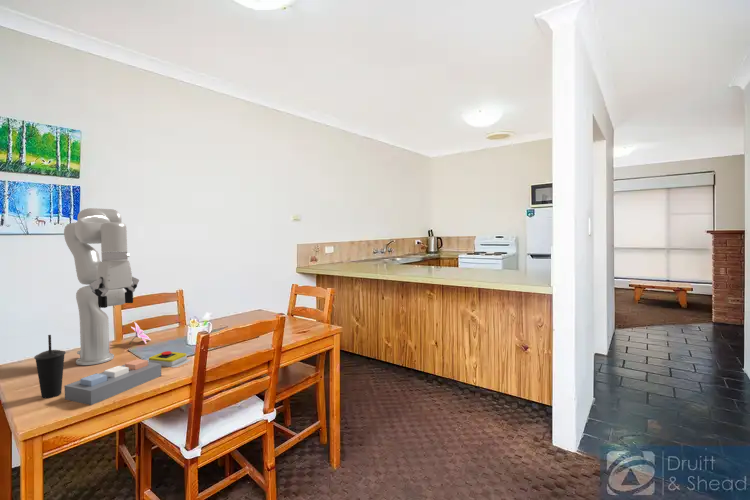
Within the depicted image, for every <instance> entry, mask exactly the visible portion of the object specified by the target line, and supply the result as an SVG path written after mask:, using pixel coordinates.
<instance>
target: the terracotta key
mask: <svg viewBox="0 0 750 500" xmlns="http://www.w3.org/2000/svg"><path fill="white" fill-rule="evenodd" d="M148 362H149V359H148V360H147V359H140V358H137V359H134V360H131V361H128V362H125V363H124V365H125V367H129V369H131V370H137V369H140V368H142V367H145V366H148Z"/></svg>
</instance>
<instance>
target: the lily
mask: <svg viewBox="0 0 750 500" xmlns="http://www.w3.org/2000/svg"><path fill="white" fill-rule="evenodd" d="M134 325H135V327H133V326H130V327H131V329H132V330H134V332H135V335H134V338H132V339H131V341H130V342H129V345H131V343H133V340H134V339H135V338H140V339H141V340H142V341H143V342H144V343H145V344H147V340H148V341H151V338H150V337H149V336H148V335H147V334H146V333H145V332H144V330H143V329H141V327H140V326H139V325H138V323H137V322H136V321H134Z"/></svg>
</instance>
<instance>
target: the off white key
mask: <svg viewBox="0 0 750 500" xmlns="http://www.w3.org/2000/svg"><path fill="white" fill-rule="evenodd" d="M103 372H104V375H107V377H112V378H116V377H118V376H121V375H124V374H126V373H129V367H123V366H122V365H117V366H114V367H111V368H108V369H105V370H103Z"/></svg>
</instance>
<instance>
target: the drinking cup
mask: <svg viewBox="0 0 750 500" xmlns="http://www.w3.org/2000/svg"><path fill="white" fill-rule="evenodd" d="M47 336H48V349H47V350H45V351H42V352H40V353H38V354H36V355H34V357H33V358H34V360H35V365H36V371H37V376H38V382H39V383H38V384H39V389H40V395H41V396H40V397H41V398H42V399H51V398H55V397H58V396H61V394H62V389H63V376H64V375H63V374H64V367H65V365H64V364H65V355H66V352H67V351H65V350H60V349H52V335H51V334H48V335H47Z"/></svg>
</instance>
